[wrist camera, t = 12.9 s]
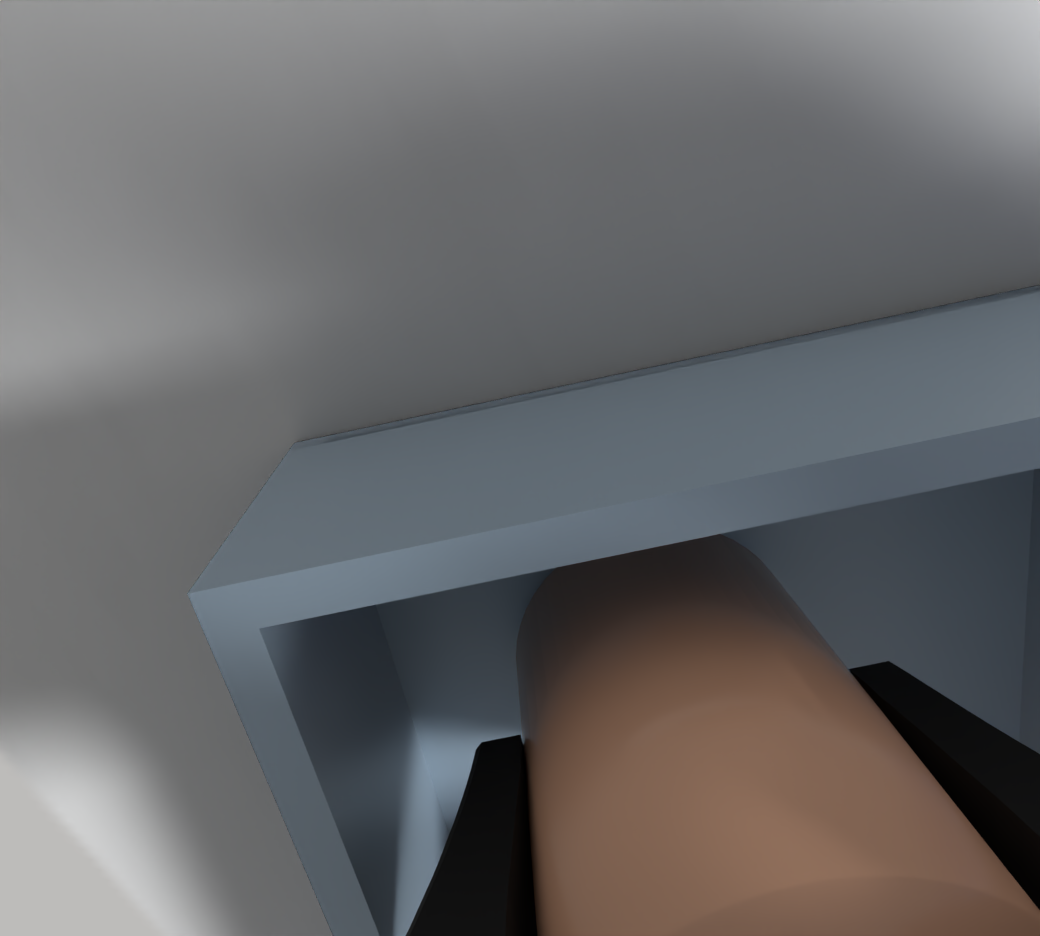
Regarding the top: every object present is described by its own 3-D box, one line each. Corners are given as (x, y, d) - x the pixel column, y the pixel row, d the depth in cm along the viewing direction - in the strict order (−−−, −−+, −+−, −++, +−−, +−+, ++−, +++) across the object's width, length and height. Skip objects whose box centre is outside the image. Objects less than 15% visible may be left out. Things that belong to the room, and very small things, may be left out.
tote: (1061, 280, 12) (1415, 339, 8) (1018, 968, 19) (1198, 1231, 14) (294, 442, 13) (186, 594, 8) (503, 1065, 19) (511, 1353, 14)
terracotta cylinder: (767, 489, 12) (1093, 811, 6) (809, 725, 14) (1098, 1182, 8) (481, 568, 13) (483, 962, 6) (555, 791, 14) (618, 1290, 8)
